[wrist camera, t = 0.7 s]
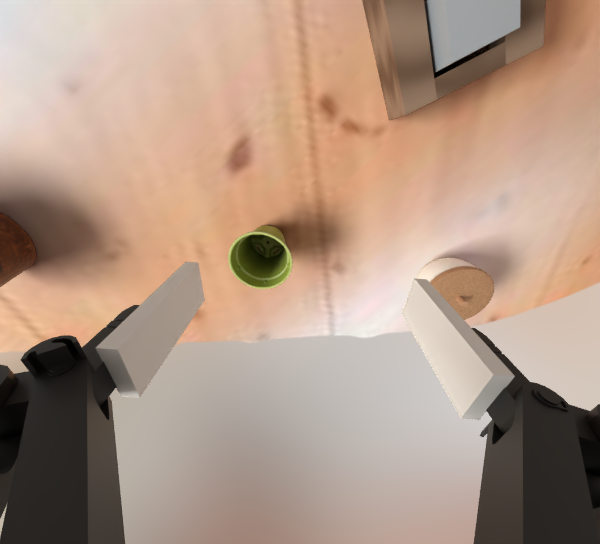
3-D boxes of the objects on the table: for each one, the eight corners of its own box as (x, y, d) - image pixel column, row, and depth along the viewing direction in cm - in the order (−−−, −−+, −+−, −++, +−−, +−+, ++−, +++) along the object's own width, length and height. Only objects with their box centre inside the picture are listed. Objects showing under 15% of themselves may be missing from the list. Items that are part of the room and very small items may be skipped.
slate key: (422, 5, 23) (442, -21, 20) (486, -34, 22) (521, -68, 18) (431, 74, 26) (451, 63, 22) (489, 44, 24) (520, 27, 21)
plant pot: (269, 203, 38) (260, 218, 30) (305, 244, 41) (305, 266, 33) (231, 237, 41) (215, 258, 33) (268, 272, 44) (260, 299, 36)
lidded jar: (397, 266, 43) (419, 294, 34) (456, 237, 40) (495, 261, 31) (416, 304, 47) (439, 338, 39) (470, 282, 44) (508, 313, 36)
